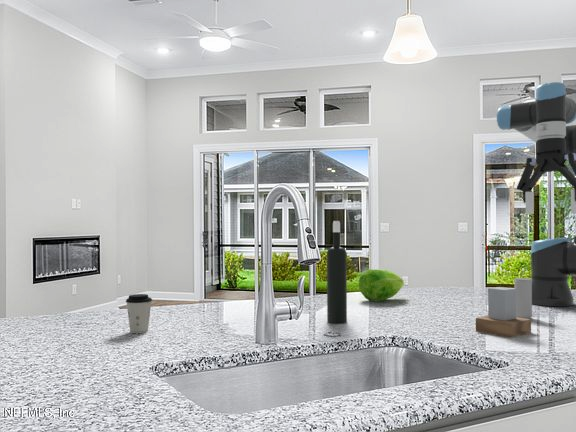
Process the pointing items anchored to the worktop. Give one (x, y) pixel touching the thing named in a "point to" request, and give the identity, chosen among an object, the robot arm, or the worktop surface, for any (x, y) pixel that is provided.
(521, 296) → the beverage can
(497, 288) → the slate block
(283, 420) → the worktop surface
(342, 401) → the worktop surface
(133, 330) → the coffee cup
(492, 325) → the walnut block
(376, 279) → the lettuce
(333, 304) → the wine bottle
